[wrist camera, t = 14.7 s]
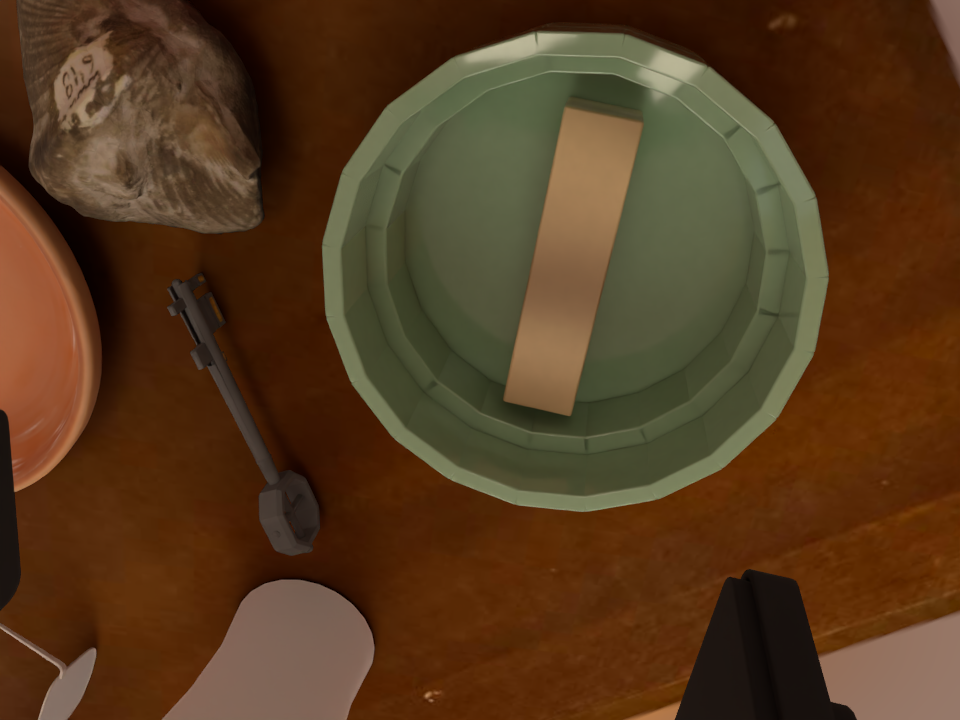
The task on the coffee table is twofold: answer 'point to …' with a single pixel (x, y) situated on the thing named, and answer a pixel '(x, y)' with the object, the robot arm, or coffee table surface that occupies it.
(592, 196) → the rectangular block
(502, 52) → the bowl
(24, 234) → the saucer
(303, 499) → the key
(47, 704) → the eyeglasses
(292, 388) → the coffee table surface
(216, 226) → the fossilized seashell
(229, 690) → the cup
